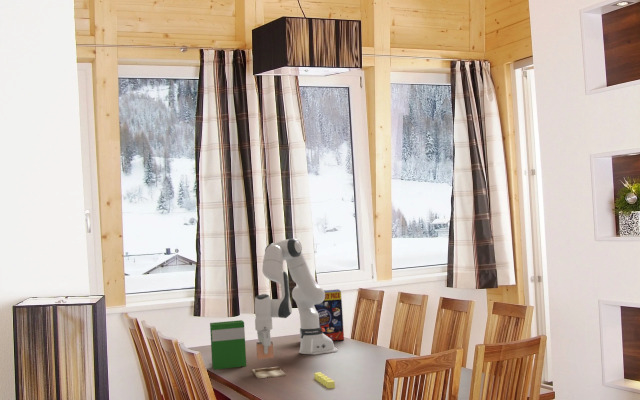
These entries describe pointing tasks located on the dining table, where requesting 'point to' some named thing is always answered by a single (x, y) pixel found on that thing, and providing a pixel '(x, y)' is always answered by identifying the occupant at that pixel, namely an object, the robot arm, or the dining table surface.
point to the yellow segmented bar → (324, 380)
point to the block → (261, 351)
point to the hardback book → (228, 344)
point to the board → (268, 372)
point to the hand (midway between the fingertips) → (265, 352)
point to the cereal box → (331, 315)
